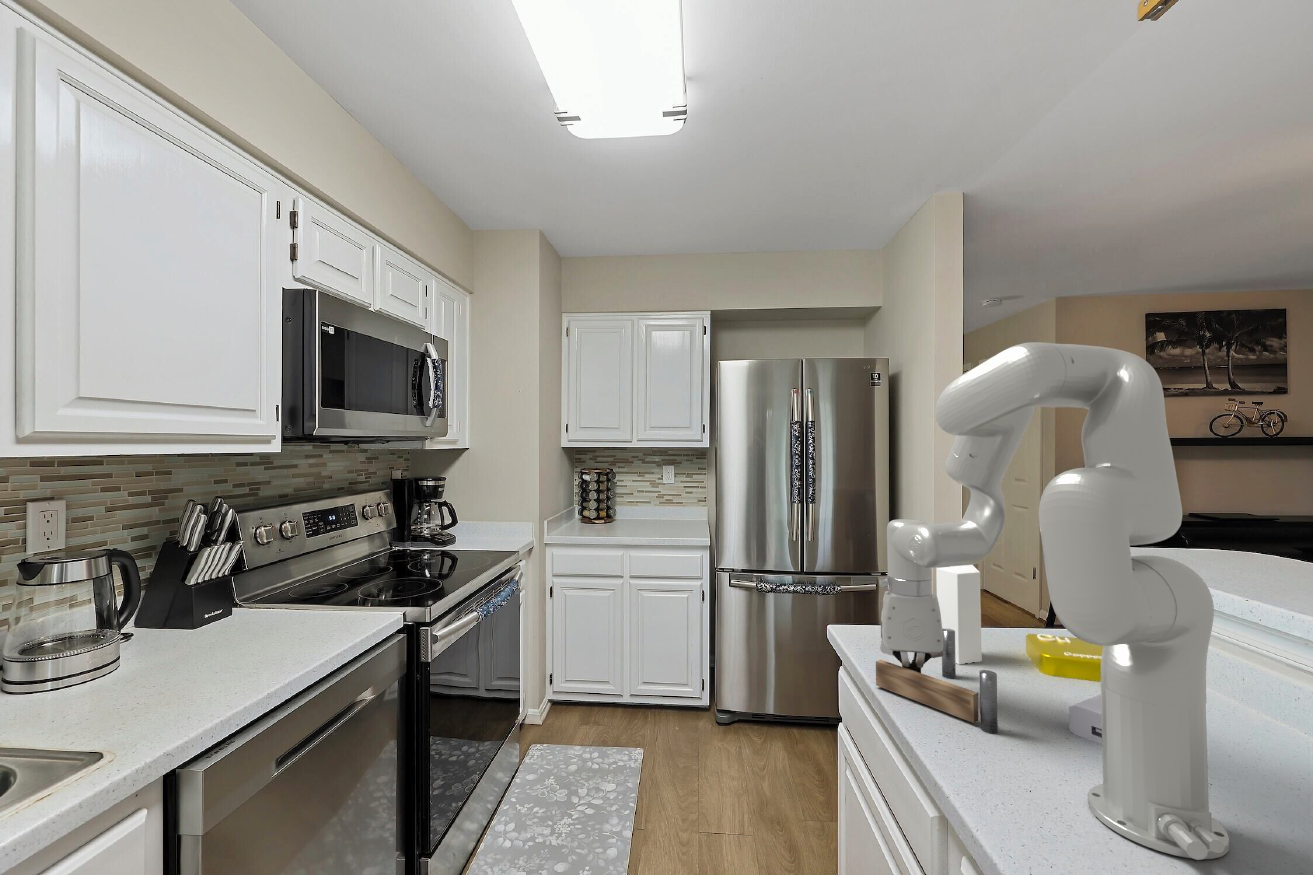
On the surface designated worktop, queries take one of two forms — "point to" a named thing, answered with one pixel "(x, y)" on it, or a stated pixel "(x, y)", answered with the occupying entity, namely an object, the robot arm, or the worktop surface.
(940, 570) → the milk
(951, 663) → the latch post
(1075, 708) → the charger
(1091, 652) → the element tile
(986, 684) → the hinge post
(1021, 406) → the robot arm
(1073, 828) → the worktop surface
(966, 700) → the gate
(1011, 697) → the worktop surface
